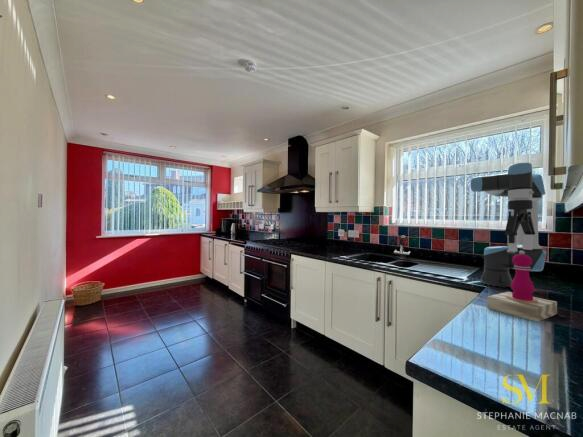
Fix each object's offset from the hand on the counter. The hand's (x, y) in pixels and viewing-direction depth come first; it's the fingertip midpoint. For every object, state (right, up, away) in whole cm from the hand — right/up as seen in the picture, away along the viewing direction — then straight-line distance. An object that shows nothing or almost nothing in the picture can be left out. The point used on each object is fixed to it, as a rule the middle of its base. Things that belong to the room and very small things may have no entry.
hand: (520, 250), depth 102 cm
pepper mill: (0, -20, -1) cm, 20 cm away
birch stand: (-1, -25, -1) cm, 25 cm away
